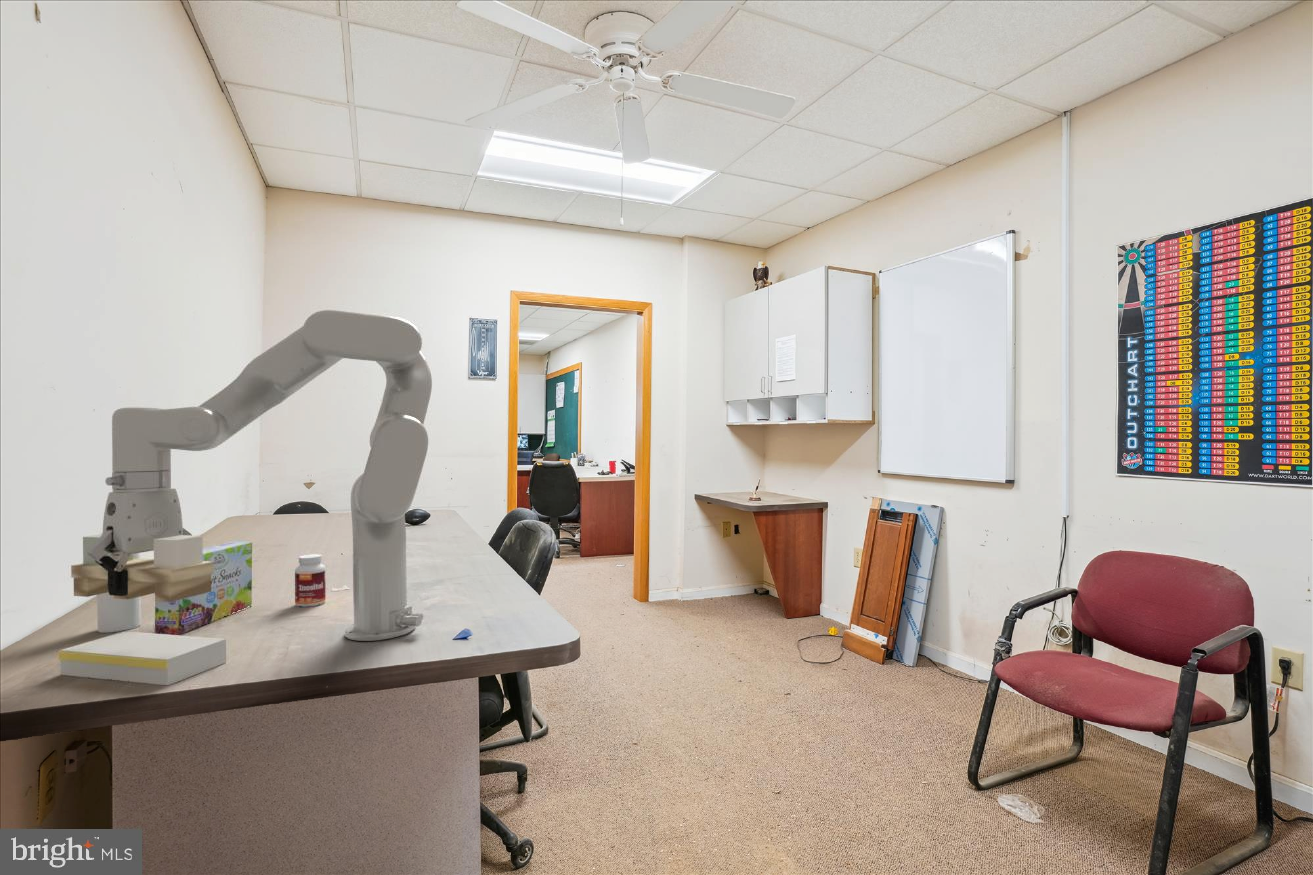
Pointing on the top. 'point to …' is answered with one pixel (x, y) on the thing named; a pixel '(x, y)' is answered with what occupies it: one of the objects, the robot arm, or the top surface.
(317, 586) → the pill bottle
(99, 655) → the block
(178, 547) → the block
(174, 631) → the snack box
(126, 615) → the white tall bottle
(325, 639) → the top surface
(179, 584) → the pallet
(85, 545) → the block
